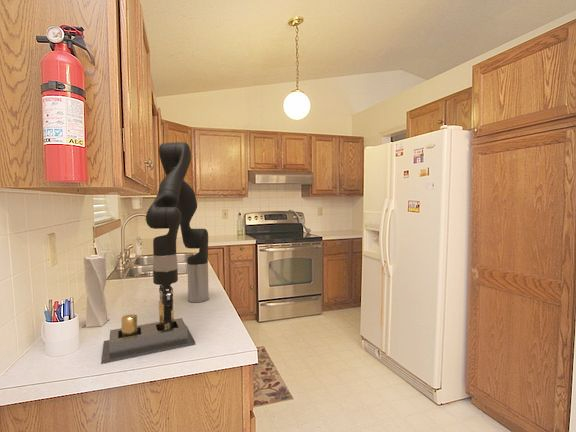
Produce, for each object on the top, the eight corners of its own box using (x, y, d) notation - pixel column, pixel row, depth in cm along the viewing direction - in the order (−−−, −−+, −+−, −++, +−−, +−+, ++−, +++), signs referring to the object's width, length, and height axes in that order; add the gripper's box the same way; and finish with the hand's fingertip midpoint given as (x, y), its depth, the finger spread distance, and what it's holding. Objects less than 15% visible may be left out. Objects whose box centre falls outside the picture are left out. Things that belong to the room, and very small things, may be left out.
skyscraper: (113, 320, 125) (111, 249, 124) (104, 328, 117) (102, 252, 116) (90, 321, 124) (87, 249, 123) (79, 329, 116) (76, 253, 115)
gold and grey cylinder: (158, 326, 106) (158, 299, 106) (172, 324, 108) (172, 297, 108) (160, 331, 103) (159, 303, 102) (174, 328, 105) (174, 301, 104)
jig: (103, 343, 104) (102, 313, 103) (186, 328, 116) (186, 301, 115) (101, 363, 91) (100, 329, 90) (195, 344, 102) (194, 314, 102)
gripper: (151, 265, 109) (152, 315, 110) (155, 273, 97) (156, 329, 97) (174, 263, 113) (175, 311, 113) (180, 270, 100) (182, 324, 101)
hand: (166, 319), depth 105 cm, fingers closed on gold and grey cylinder, 4 cm apart
